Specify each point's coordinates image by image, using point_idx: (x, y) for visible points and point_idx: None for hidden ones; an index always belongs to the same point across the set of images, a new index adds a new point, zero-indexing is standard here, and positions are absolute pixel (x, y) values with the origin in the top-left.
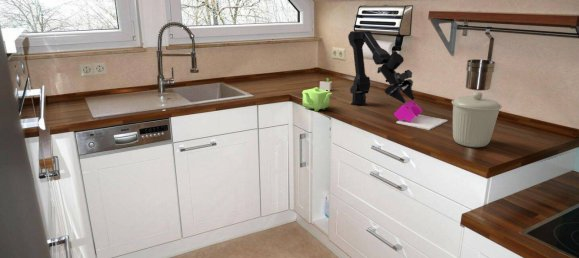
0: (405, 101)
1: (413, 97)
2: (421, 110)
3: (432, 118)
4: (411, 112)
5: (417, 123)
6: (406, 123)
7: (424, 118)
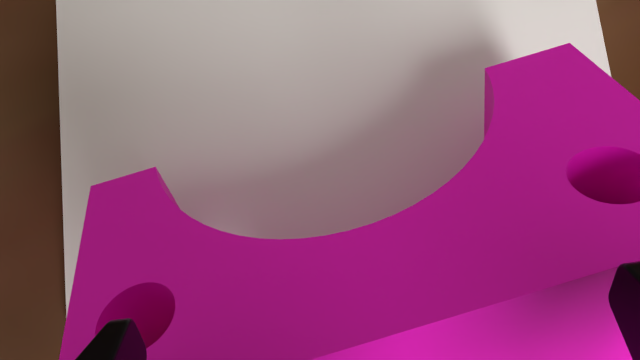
0: (630, 266)
1: (120, 348)
2: (136, 181)
3: (123, 58)
4: (572, 96)
5: (488, 50)
6: None
7: (204, 121)
